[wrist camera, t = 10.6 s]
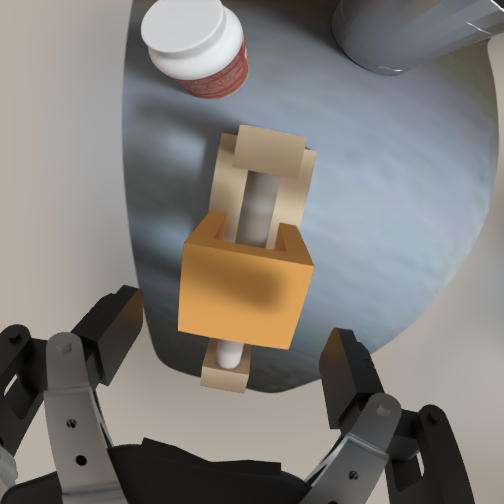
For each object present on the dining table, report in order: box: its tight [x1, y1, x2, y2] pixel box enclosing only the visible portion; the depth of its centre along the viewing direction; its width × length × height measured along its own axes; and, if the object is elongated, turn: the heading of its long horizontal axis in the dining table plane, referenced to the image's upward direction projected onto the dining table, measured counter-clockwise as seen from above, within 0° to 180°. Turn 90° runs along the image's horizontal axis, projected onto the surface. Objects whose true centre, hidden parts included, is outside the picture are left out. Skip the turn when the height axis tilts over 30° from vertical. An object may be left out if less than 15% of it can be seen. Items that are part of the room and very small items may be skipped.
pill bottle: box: [141, 0, 249, 99], centre depth 15 cm, size 6×6×11 cm
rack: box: [201, 124, 317, 393], centre depth 20 cm, size 16×8×12 cm, turn 169°
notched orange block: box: [178, 210, 314, 349], centre depth 16 cm, size 5×6×7 cm
